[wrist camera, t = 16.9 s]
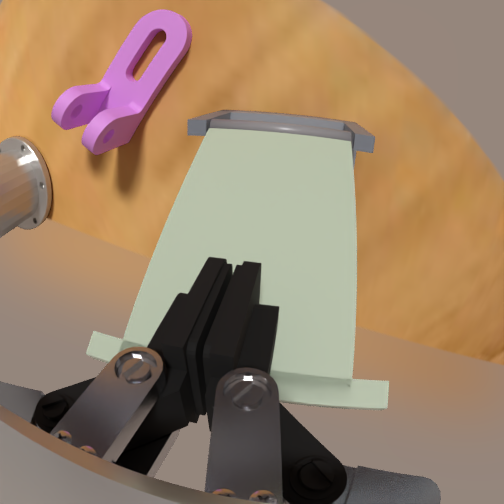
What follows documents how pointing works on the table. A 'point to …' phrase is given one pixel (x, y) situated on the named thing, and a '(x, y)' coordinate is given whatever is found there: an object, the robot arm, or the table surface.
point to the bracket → (125, 85)
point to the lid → (269, 252)
